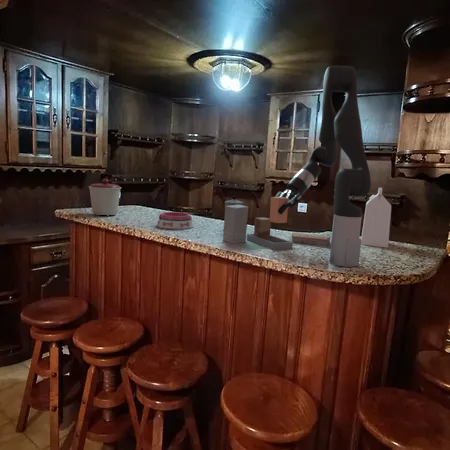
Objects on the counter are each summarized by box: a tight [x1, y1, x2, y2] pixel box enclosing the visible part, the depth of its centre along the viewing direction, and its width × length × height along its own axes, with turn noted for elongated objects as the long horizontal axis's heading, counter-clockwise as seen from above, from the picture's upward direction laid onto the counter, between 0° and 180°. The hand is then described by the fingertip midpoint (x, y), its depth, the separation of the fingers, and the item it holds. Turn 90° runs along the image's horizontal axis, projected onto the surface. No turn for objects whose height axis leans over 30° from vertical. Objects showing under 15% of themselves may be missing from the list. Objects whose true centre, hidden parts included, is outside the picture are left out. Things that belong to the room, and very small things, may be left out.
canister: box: [88, 178, 122, 216], centre depth 215 cm, size 18×18×21 cm
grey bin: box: [246, 233, 294, 251], centre depth 157 cm, size 20×9×3 cm, turn 28°
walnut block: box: [253, 217, 272, 241], centre depth 162 cm, size 5×5×10 cm
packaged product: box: [287, 232, 331, 250], centre depth 163 cm, size 18×5×10 cm
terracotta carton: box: [269, 196, 289, 224], centre depth 151 cm, size 5×5×10 cm
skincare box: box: [222, 205, 249, 244], centre depth 158 cm, size 8×7×16 cm
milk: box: [360, 187, 392, 248], centre depth 172 cm, size 12×12×26 cm
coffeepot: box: [222, 195, 245, 233], centre depth 183 cm, size 15×9×18 cm, turn 176°
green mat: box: [237, 243, 268, 251], centre depth 150 cm, size 10×8×1 cm
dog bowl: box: [156, 211, 194, 230], centre depth 190 cm, size 18×19×7 cm
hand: (275, 211), depth 150 cm, fingers closed on terracotta carton, 5 cm apart
